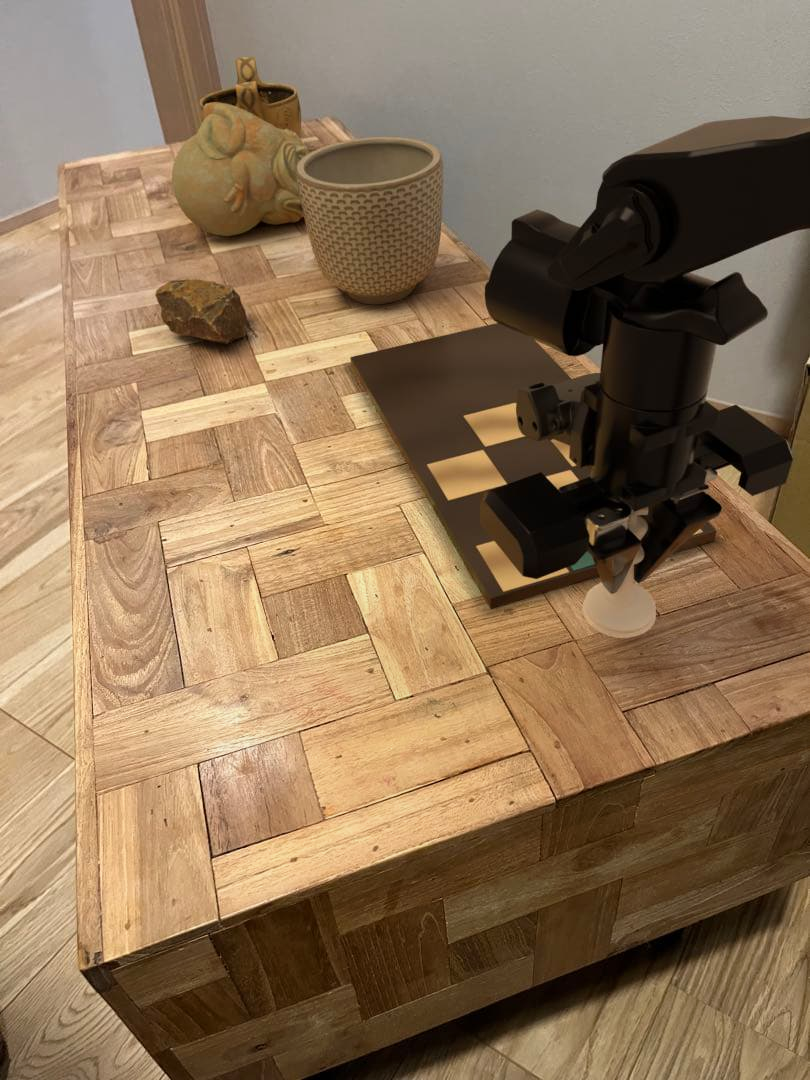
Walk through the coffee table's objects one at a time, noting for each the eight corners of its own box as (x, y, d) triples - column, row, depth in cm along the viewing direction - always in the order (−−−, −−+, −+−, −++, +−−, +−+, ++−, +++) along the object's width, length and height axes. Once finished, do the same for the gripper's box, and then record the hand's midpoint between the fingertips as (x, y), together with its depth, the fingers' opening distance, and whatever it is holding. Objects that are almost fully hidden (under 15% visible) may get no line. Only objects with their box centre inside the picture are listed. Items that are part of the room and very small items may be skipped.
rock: (175, 372, 94) (260, 353, 96) (160, 322, 90) (250, 303, 92) (163, 323, 104) (241, 306, 106) (150, 275, 100) (231, 259, 102)
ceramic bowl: (311, 177, 139) (297, 78, 129) (211, 190, 138) (188, 91, 128) (304, 138, 156) (290, 47, 146) (214, 149, 155) (194, 58, 145)
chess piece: (662, 637, 55) (685, 524, 48) (588, 639, 55) (600, 528, 49) (647, 584, 59) (667, 473, 52) (578, 587, 59) (588, 477, 52)
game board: (714, 541, 68) (717, 529, 67) (490, 609, 64) (490, 597, 63) (514, 328, 96) (514, 317, 96) (351, 366, 93) (349, 356, 92)
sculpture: (244, 274, 115) (351, 184, 117) (142, 146, 107) (258, 51, 109) (227, 278, 131) (321, 199, 133) (137, 167, 123) (239, 84, 125)
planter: (400, 333, 97) (388, 196, 87) (287, 304, 105) (263, 175, 94) (472, 274, 108) (470, 145, 97) (364, 252, 115) (351, 129, 104)
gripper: (697, 285, 53) (663, 476, 63) (434, 363, 48) (445, 556, 59) (829, 362, 45) (766, 566, 56) (532, 464, 40) (524, 666, 51)
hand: (622, 583), depth 55 cm, fingers closed on chess piece
